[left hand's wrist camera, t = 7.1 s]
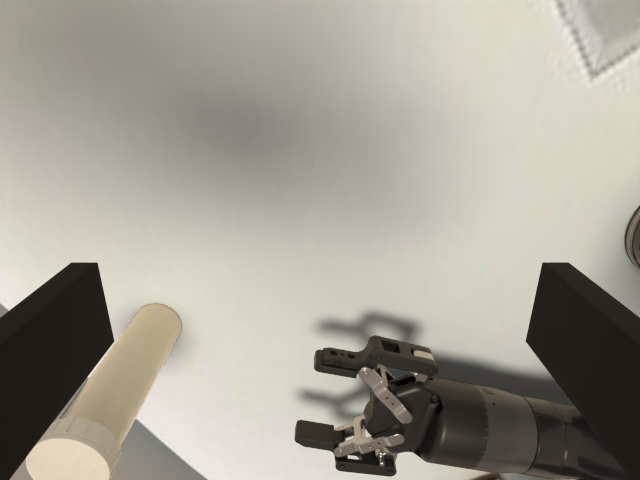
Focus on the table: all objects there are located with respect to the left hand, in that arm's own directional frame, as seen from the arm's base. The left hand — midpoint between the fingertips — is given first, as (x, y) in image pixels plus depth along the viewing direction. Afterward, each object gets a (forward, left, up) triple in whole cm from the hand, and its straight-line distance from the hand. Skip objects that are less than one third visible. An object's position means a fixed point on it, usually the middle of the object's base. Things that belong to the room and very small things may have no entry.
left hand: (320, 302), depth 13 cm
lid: (+4, -24, -9) cm, 26 cm away
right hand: (+16, -14, -20) cm, 29 cm away
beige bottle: (+4, -24, -26) cm, 35 cm away
